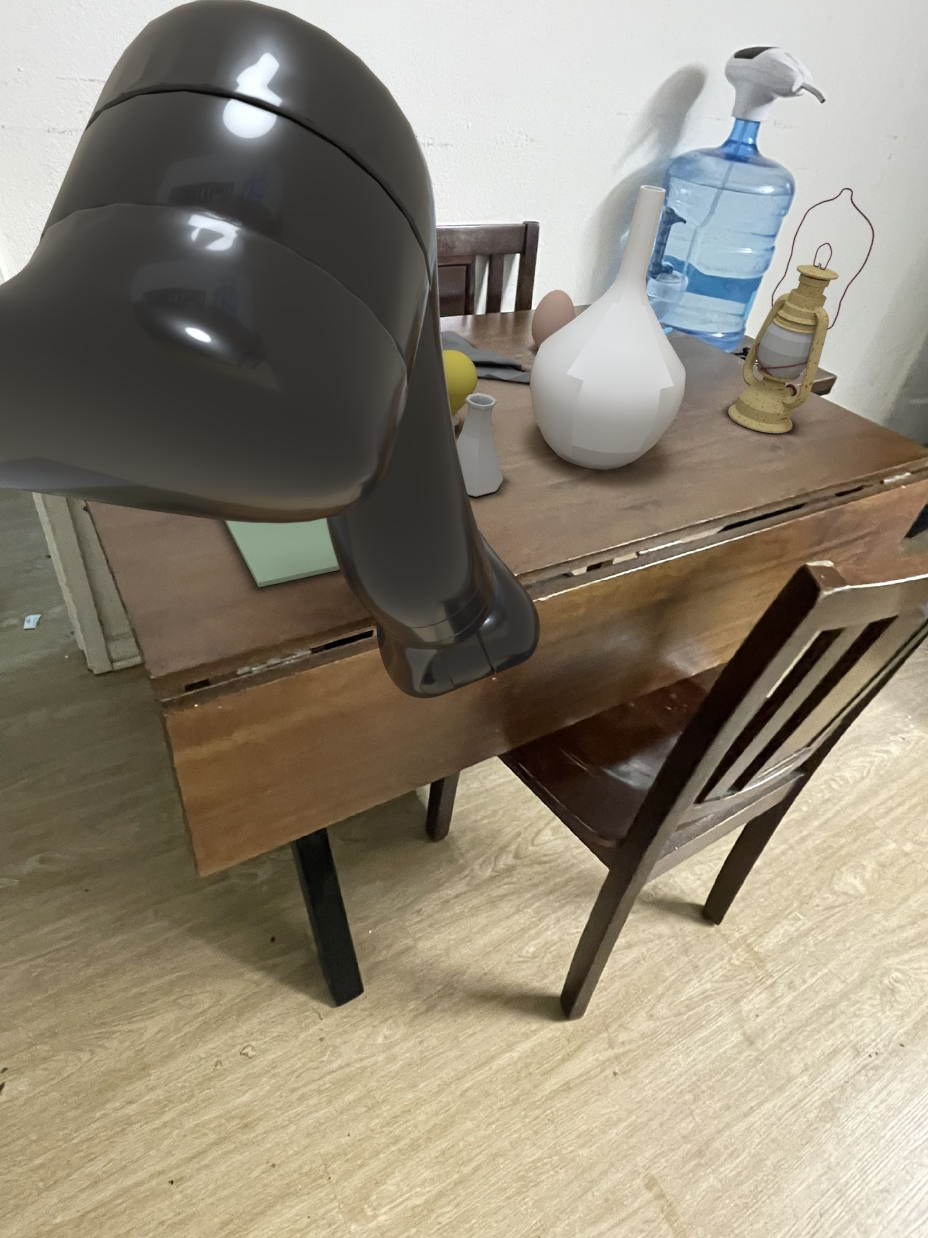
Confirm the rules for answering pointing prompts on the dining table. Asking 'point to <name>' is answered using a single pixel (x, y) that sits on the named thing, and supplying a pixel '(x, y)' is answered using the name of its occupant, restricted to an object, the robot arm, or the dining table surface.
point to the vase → (611, 365)
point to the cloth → (486, 360)
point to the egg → (551, 315)
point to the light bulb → (458, 380)
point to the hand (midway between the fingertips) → (305, 238)
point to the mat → (284, 549)
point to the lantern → (788, 348)
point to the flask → (479, 447)
